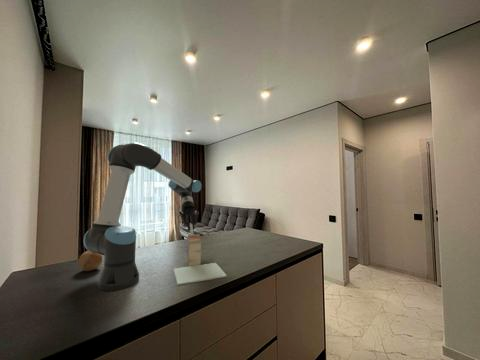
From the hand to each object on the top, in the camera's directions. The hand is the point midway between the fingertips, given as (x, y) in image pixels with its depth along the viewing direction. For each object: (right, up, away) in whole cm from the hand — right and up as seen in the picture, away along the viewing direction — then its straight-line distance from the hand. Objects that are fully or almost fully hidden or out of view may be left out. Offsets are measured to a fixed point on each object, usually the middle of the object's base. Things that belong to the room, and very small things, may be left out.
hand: (192, 234), depth 121 cm
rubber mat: (+9, -13, -23) cm, 28 cm away
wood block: (+4, -13, -11) cm, 17 cm away
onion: (-46, -13, -20) cm, 52 cm away
